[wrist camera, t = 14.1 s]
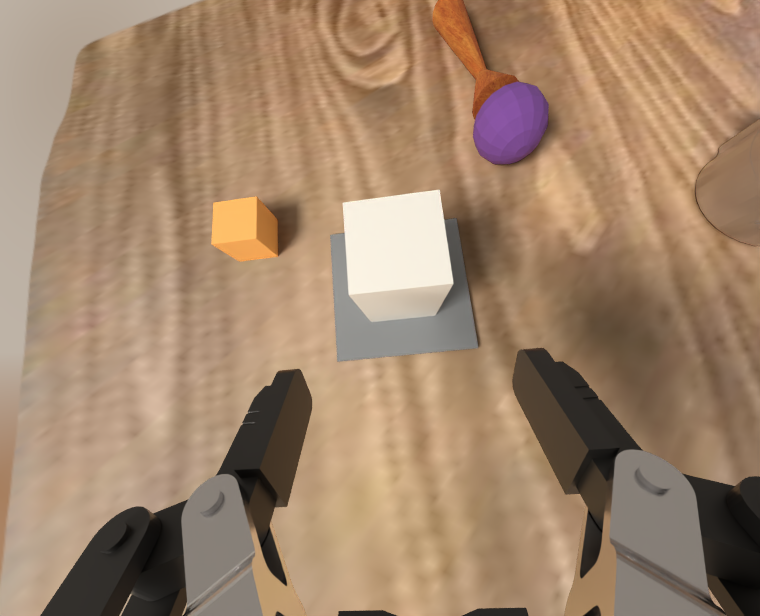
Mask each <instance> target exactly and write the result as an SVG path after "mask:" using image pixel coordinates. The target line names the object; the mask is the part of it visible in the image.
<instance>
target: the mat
mask: <svg viewBox="0 0 760 616" xmlns="http://www.w3.org/2000/svg"><path fill="white" fill-rule="evenodd" d="M444 223H445V230H446V237H447V243H448V250H449V257H450V263H451V270H452V277H453V283H454V284H453V285H452V287H451V289H450V291H449V292H448V294H447V296H446V298H445V299H444V301H443V303H442V305H441V306H440V308H439V310H438V312H437V313H436V315H435V316H427V317H417V318H407V319H398V320H388V321H378V322H371V321H370V320H369V319H368V318H367V316H366V315H365V314H364V313H363V312H362V310H361V309H360V308H359V307H358V306H357V304H356V303H355V302H354V301H353V300H352V298H351V297H350V296H349V293H348V277H347V261H346V245H345V233H341V234H334V235H330V239H331V256H332V274H333V292H334V310H335V327H336V345H337V361H338V362H339V361H349V360H360V359H370V358H380V357H391V356H401V355H411V354H422V353H432V352H443V351H453V350H463V349H474V348H478V343H477V337H476V331H475V325H474V319H473V313H472V307H471V301H470V295H469V290H468V284H467V278H466V272H465V266H464V260H463V254H462V248H461V242H460V236H459V230H458V224H457V218H454V219H447V220H444Z"/></svg>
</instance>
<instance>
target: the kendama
mask: <svg viewBox="0 0 760 616" xmlns="http://www.w3.org/2000/svg"><path fill="white" fill-rule="evenodd" d="M433 24H434V27H435V29H436V30H437V31H438V32H439V34H440V35H441V36H442V37H443V39H444V40H445V41H446V42H447V44H448V45H449V46H450V48H451V49H452V50H453V51H454V53H455V54H456V55H457V56H458V58H459V59H460V60H461V62H462V63H463V64H464V65H465V67H466V68H467V69H468V70H469V72H470V73H471V74H472V75H473V77H474V78H475V79H476V84H475V93H474V102H473V111H472V113H473V117H474V119H475V123H474V132H473V138H474V142H475V146H476V148H477V150H478V152H479V154H480V155H481V156H482V157H484V158H485V159H487V160H488V161H490V162H491V163H493V164H511V163H514V162H518V161H519V160H521V159H523V158H525V157H526V156H527V155H529V154H530V153H531V152H532V151H533V150H534V149H535V148H536V147H537V145H538V144H539V142H540V140H541V138H542V136H543V134H544V132H545V130H546V128H547V126H548V102H547V101H546V99H545V97H544V96H543V94H542V93H541V91H540V90H539V89H538V87H537V86H534V85H531V84H527V83H522V82H519V81H518V80H517V78H516V77H515V76H513V75H508V74H504V73H500V72H495V71H491V70H487V69H486V66H485V63H484V60H483V57H482V54H481V51H480V48H479V45H478V42H477V40H476V37H475V34H474V31H473V28H472V25H471V22H470V19H469V16H468V13H467V10H466V8H465V5H464V2H463V0H438V2H437V3H436V5H435V8H434V11H433Z"/></svg>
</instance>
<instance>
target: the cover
mask: <svg viewBox="0 0 760 616" xmlns="http://www.w3.org/2000/svg"><path fill="white" fill-rule="evenodd" d="M343 213H344V229H345V245H346V261H347V277H348V293H349V296H350V297H351V298H352V300H353V301H354V302H355V303H356V304H357V306H358V307H359V308H360V309H361V310H362V312H363V313H364V314H365V315H366V316H367V318H368V319H369V320H370V321H371V322H378V321H388V320H398V319H407V318H417V317H427V316H435V315H436V313H437V312H438V310H439V308H440V306H441V305H442V303H443V301H444V299H445V298H446V296H447V294H448V292H449V291H450V289H451V287H452V285H453V284H454V283H453V277H452V270H451V263H450V257H449V250H448V243H447V237H446V230H445V223H444V217H443V210H442V203H441V197H440V190H433V191H426V192H418V193H411V194H404V195H396V196H389V197H382V198H374V199H367V200H360V201H352V202H345V203H343Z"/></svg>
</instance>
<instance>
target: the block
mask: <svg viewBox="0 0 760 616" xmlns="http://www.w3.org/2000/svg"><path fill="white" fill-rule="evenodd" d="M212 245H213V246H215V247H217V248H218V249H220V250H221V251H223V252H225V253H226V254H228V255H230V256H231V257H233V258H234V259H236V260H238V261H247V260H255V259H263V258H271V257H278V220H277V219H276V217H275V216H274V215H273V214H272V213H271V212H270V211H269V210H268V209H267V207H266V206H265V205H264V204H263V203H262V202H261V201H260V200H259V198H258V197H257V196H256V197H250V198H243V199H236V200H229V201H222V202H215V203H214V204H213V224H212Z"/></svg>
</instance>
